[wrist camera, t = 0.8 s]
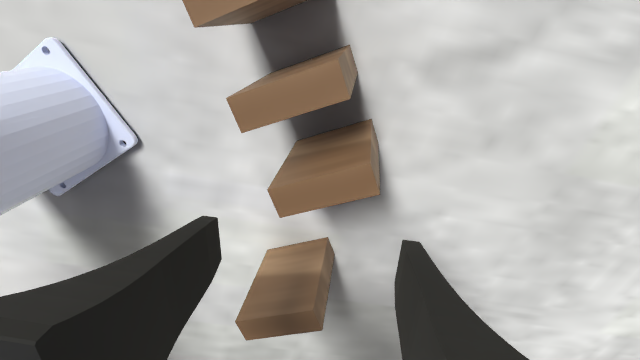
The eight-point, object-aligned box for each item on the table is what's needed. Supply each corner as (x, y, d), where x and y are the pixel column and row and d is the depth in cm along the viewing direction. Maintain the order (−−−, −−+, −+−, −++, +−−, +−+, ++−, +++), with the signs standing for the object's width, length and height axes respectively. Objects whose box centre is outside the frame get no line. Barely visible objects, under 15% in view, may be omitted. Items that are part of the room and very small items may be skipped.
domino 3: (357, 72, 20) (350, 98, 14) (280, 98, 21) (241, 133, 15) (349, 44, 19) (337, 59, 13) (270, 73, 21) (225, 98, 14)
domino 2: (378, 142, 22) (380, 194, 15) (305, 162, 23) (279, 218, 17) (371, 118, 21) (370, 163, 15) (296, 140, 22) (267, 189, 16)
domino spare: (334, 254, 26) (322, 330, 20) (275, 265, 27) (245, 340, 21) (327, 237, 25) (313, 310, 19) (267, 249, 27) (235, 321, 20)
